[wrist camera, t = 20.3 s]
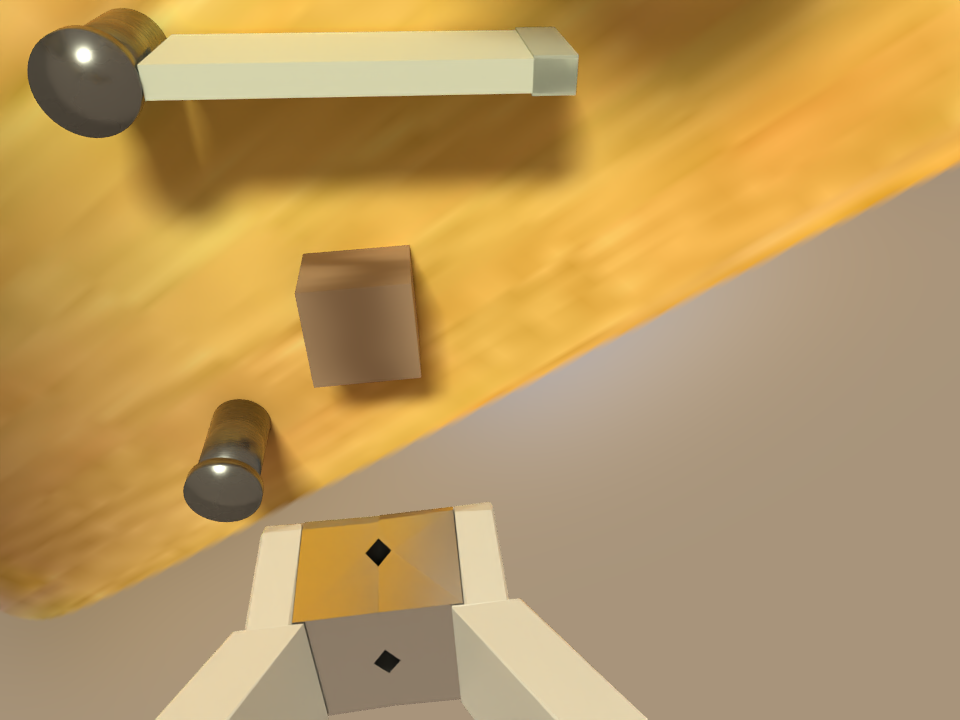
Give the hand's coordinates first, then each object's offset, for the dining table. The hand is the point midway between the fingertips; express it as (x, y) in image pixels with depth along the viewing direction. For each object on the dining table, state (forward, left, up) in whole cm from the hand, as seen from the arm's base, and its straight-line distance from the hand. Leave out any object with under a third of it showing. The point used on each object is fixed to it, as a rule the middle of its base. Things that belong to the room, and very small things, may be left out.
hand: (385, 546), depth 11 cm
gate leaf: (-1, +1, -26) cm, 26 cm away
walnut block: (-3, -11, -27) cm, 29 cm away
